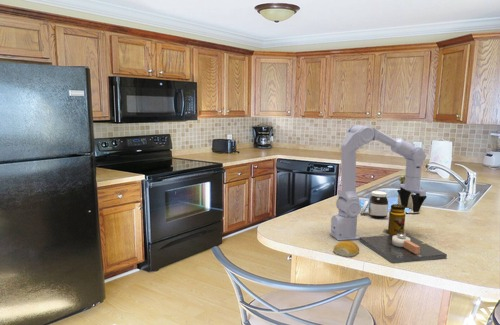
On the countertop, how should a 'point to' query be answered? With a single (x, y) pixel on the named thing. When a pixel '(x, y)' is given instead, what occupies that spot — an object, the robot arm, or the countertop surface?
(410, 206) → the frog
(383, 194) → the spread jar
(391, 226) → the condiment
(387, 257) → the base
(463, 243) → the countertop surface
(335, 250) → the bread roll
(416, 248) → the collar
